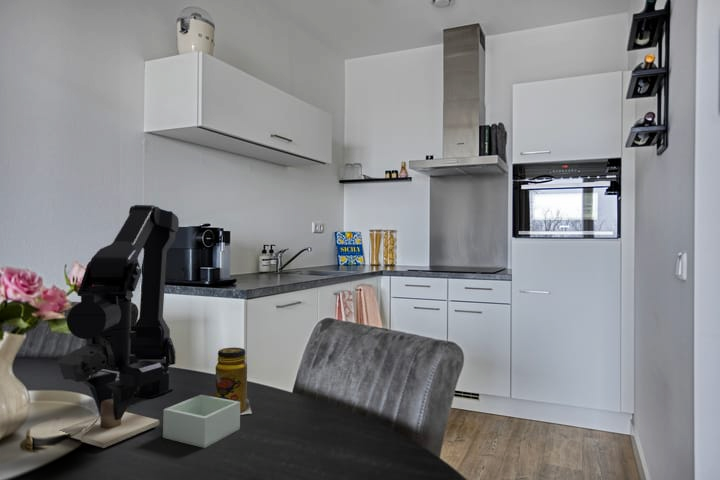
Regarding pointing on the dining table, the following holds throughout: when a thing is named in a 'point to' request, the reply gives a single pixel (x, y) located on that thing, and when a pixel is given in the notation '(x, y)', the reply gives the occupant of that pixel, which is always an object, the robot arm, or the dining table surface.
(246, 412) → the condiment
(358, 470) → the dining table surface
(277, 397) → the dining table surface
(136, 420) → the lid
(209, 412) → the mint green open box
